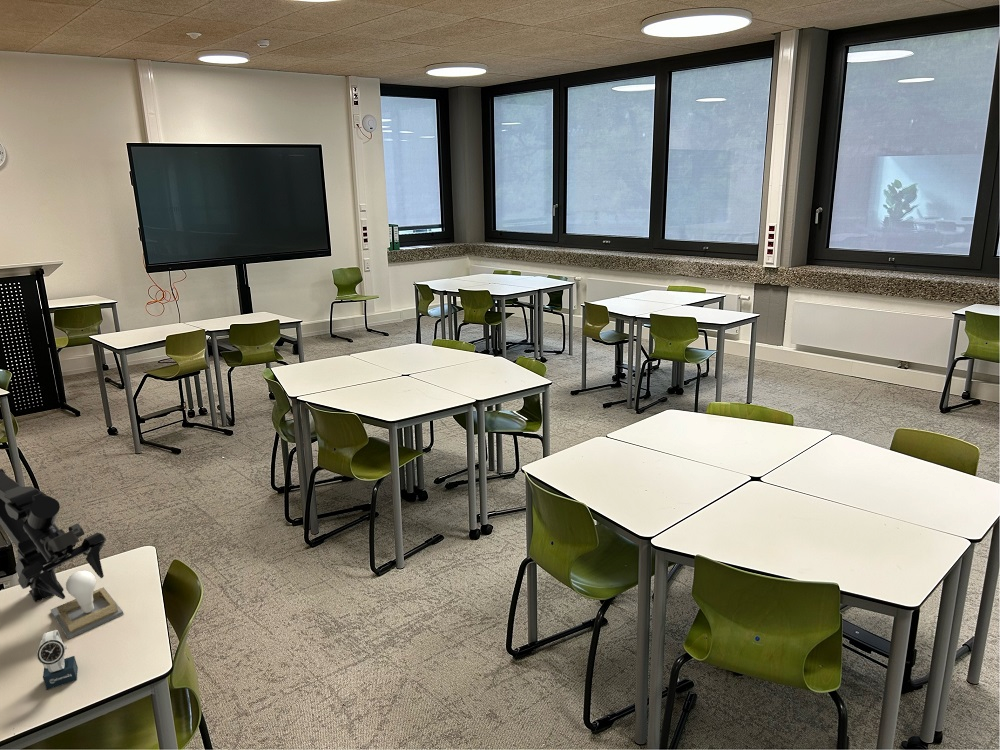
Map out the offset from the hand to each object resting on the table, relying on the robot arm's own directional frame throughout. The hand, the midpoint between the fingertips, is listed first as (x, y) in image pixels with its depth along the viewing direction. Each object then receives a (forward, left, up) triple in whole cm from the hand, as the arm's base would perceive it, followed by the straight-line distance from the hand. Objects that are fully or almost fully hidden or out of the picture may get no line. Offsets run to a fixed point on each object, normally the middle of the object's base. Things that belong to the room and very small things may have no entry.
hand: (83, 587), depth 167 cm
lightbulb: (-1, 0, -8) cm, 8 cm away
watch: (+19, -11, -9) cm, 23 cm away
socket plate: (-3, 0, -8) cm, 9 cm away
